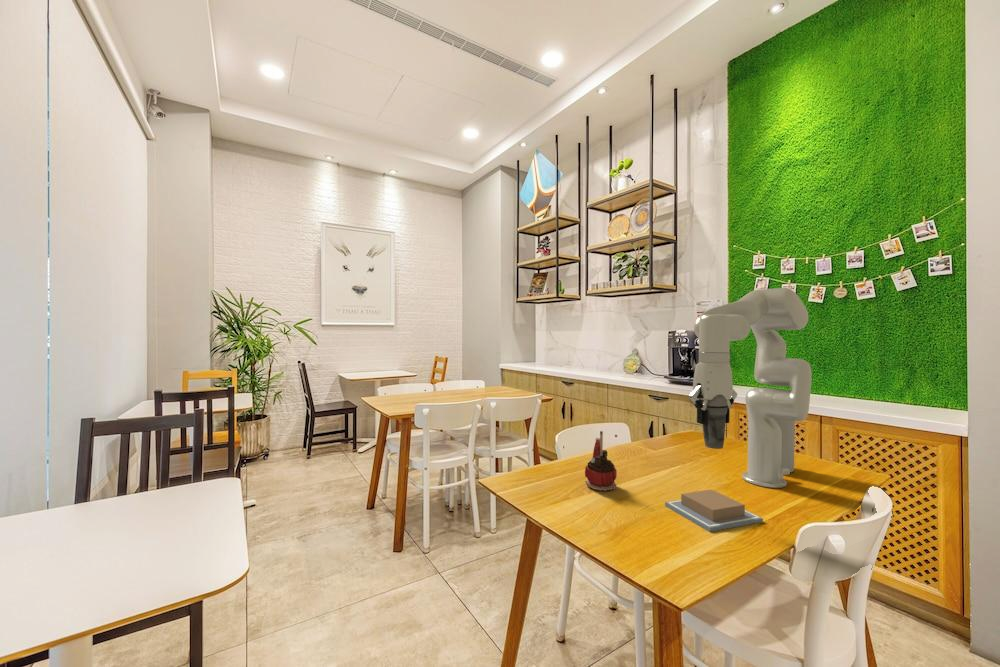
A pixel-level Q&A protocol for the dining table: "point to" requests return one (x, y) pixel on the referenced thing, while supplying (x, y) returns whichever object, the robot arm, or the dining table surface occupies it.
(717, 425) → the beverage cup
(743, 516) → the brown block on tray
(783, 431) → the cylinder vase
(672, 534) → the dining table surface
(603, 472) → the cake
